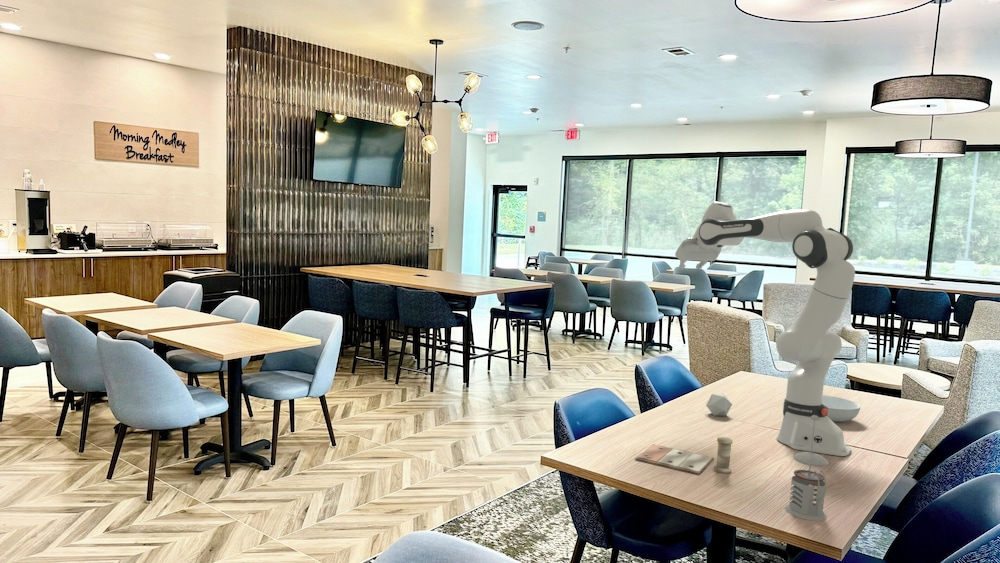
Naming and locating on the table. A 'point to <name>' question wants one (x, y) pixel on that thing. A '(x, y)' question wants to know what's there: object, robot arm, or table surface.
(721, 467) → the beige flanged column
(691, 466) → the game board
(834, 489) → the table surface
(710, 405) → the die
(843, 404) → the serving bowl
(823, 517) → the french press
